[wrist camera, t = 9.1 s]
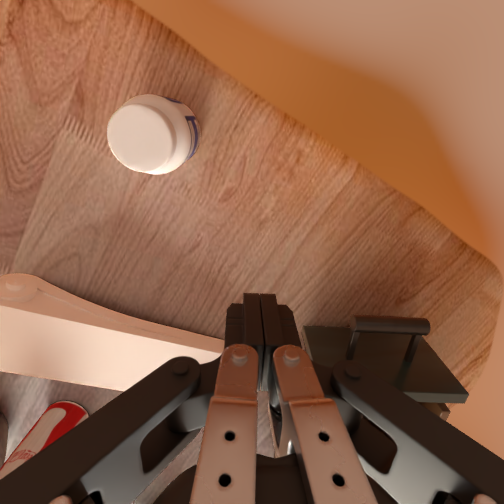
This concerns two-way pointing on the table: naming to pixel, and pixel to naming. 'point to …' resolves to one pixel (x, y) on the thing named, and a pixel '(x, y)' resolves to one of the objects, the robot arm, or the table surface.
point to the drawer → (390, 357)
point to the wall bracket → (85, 338)
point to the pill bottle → (153, 134)
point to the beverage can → (45, 432)
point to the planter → (3, 438)
